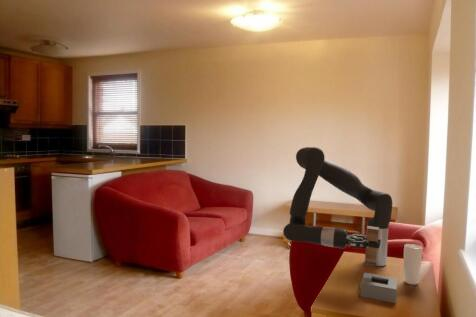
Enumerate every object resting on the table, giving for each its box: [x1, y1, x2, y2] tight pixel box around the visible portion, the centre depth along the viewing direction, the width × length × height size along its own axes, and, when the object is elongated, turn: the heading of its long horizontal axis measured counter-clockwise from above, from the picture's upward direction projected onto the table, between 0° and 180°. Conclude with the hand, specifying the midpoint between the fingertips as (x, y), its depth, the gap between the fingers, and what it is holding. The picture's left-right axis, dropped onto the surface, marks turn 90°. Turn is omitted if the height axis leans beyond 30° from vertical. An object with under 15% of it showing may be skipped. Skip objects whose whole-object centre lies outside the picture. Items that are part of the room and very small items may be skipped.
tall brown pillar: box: [364, 226, 379, 267], centre depth 147 cm, size 4×4×14 cm
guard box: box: [359, 272, 398, 304], centre depth 143 cm, size 12×12×5 cm
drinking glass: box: [403, 243, 424, 286], centre depth 155 cm, size 7×7×15 cm
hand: (379, 243), depth 146 cm, fingers closed on tall brown pillar, 4 cm apart
